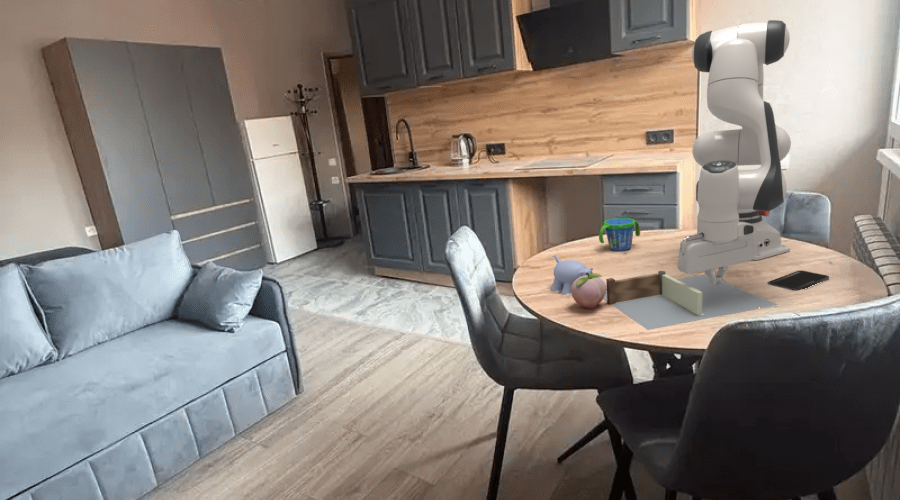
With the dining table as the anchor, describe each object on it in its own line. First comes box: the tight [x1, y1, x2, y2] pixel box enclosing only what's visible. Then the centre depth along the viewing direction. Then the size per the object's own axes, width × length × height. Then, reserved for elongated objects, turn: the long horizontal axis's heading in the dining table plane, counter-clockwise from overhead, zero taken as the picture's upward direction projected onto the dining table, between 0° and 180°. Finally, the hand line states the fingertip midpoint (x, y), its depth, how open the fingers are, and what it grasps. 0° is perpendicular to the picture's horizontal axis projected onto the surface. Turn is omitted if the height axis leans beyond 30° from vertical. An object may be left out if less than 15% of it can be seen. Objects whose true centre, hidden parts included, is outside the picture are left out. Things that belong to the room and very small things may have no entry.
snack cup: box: [598, 217, 641, 252], centre depth 177 cm, size 16×10×10 cm
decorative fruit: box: [571, 272, 607, 309], centre depth 129 cm, size 9×8×10 cm
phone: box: [767, 270, 830, 292], centre depth 131 cm, size 8×1×15 cm
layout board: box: [603, 273, 779, 331], centre depth 128 cm, size 34×26×1 cm
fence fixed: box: [605, 270, 666, 305], centre depth 131 cm, size 16×2×7 cm, turn 100°
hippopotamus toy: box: [550, 255, 594, 297], centre depth 142 cm, size 11×15×10 cm
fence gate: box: [662, 273, 702, 315], centre depth 124 cm, size 15×1×6 cm, turn 8°
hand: (716, 283), depth 123 cm, fingers closed
